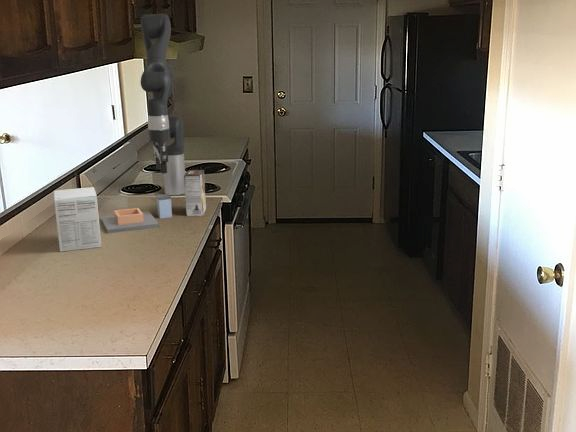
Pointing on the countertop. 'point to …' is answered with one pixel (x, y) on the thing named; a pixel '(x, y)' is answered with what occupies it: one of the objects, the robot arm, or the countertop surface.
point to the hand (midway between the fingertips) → (161, 171)
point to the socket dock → (128, 220)
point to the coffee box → (195, 192)
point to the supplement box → (77, 219)
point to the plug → (164, 205)
